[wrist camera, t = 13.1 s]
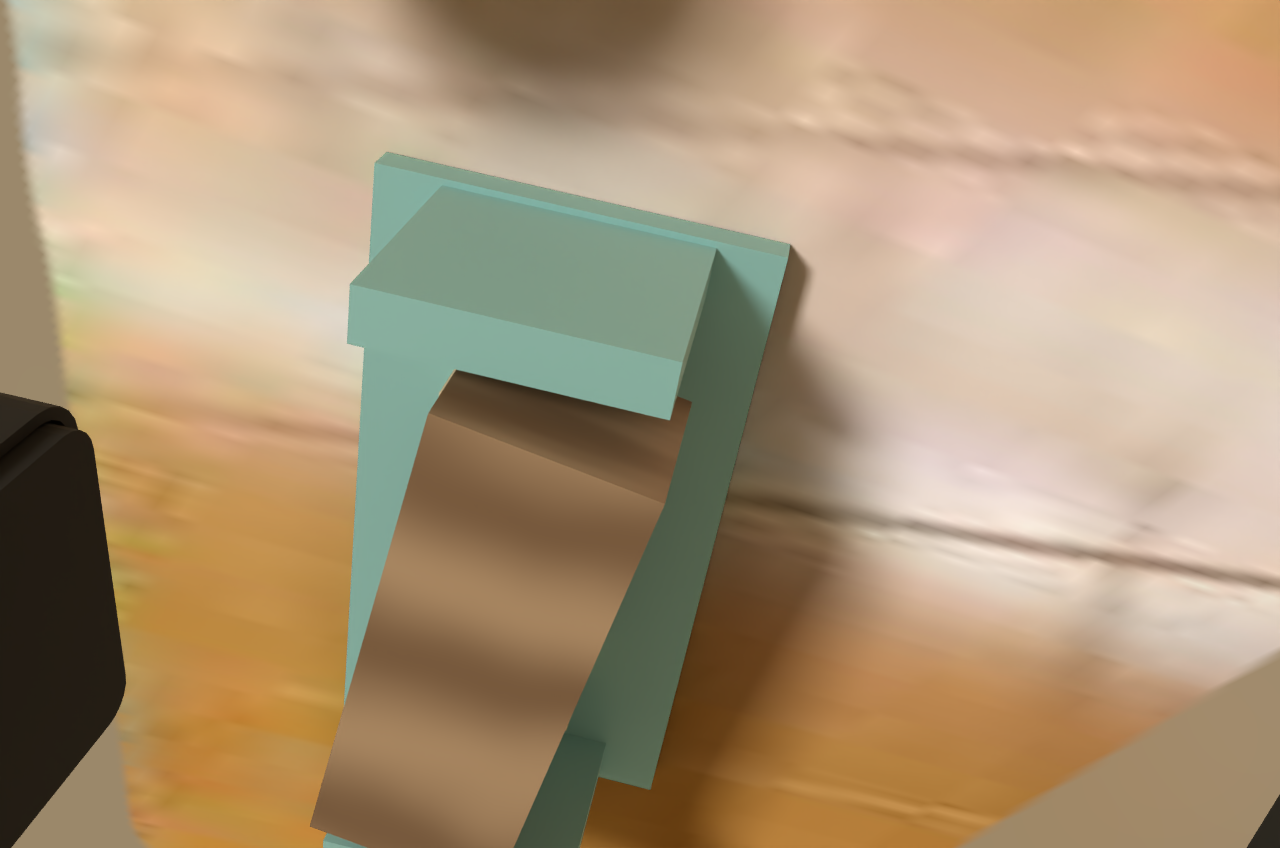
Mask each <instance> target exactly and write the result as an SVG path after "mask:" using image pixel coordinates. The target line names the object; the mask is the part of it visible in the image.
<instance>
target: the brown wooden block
mask: <svg viewBox="0 0 1280 848" xmlns="http://www.w3.org/2000/svg"><path fill="white" fill-rule="evenodd" d="M691 405H692V402H691V401H689V400H686V399H683V398H681V397H678V396H677V398H676V401H675V405H674V408H673V412H672V415H671V418H670V420H666V419H662V418H658V417H653V416H649V415H645V414H641V413H637V412H632V411H628V410H624V409H620V408H616V407H611V406H607V405H603V404H599V403H595V402H590V401H586V400H582V399H578V398H574V397H569V396H565V395H561V394H557V393H553V392H548V391H544V390H540V389H536V388H532V387H527V386H523V385H519V384H515V383H511V382H506V381H502V380H498V379H494V378H490V377H485V376H481V375H477V374H473V373H469V372H465V371H460V370H456V371H455V372H454V374H453V375H452V377H451V378H450V380H449V381H448V383H447V385H446V386H445V388H444V389H443V391H442V392H441V394H440V395H439V397H438V399H437V400H436V402H435V403H434V405H433V406H432V408H431V409H430V411H429V413H428V415H427V419H426V422H425V426H424V429H423V433H422V436H421V440H420V443H419V447H418V450H417V454H416V457H415V461H414V464H413V468H412V471H411V475H410V478H409V482H408V485H407V489H406V492H405V496H404V499H403V503H402V506H401V510H400V513H399V517H398V520H397V524H396V527H395V531H394V534H393V538H392V541H391V545H390V548H389V552H388V555H387V558H386V562H385V565H384V569H383V572H382V576H381V579H380V583H379V586H378V590H377V593H376V597H375V600H374V604H373V607H372V611H371V614H370V618H369V621H368V625H367V628H366V632H365V635H364V639H363V642H362V646H361V649H360V653H359V656H358V660H357V663H356V667H355V670H354V674H353V677H352V681H351V684H350V688H349V691H348V695H347V698H346V702H345V705H344V709H343V712H342V716H341V719H340V723H339V726H338V729H337V733H336V736H335V740H334V743H333V747H332V750H331V754H330V757H329V761H328V764H327V768H326V771H325V775H324V778H323V782H322V785H321V789H320V792H319V796H318V799H317V803H316V806H315V810H314V813H313V817H312V820H311V824H310V827H313V828H316V829H318V830H321V831H324V832H326V833H329V834H332V835H334V836H337V837H340V838H342V839H345V840H348V841H350V842H353V843H356V844H358V845H361V846H364V847H367V848H514V846H515V843H516V841H517V839H518V836H519V834H520V832H521V830H522V827H523V825H524V823H525V821H526V818H527V816H528V814H529V812H530V809H531V807H532V805H533V802H534V800H535V798H536V796H537V793H538V791H539V789H540V787H541V784H542V782H543V780H544V777H545V775H546V773H547V771H548V768H549V766H550V764H551V762H552V759H553V757H554V755H555V752H556V750H557V748H558V746H559V743H560V741H561V739H562V737H563V734H564V732H565V730H566V728H567V725H568V723H569V721H570V718H571V716H572V714H573V712H574V709H575V707H576V705H577V703H578V700H579V698H580V696H581V693H582V691H583V689H584V687H585V684H586V682H587V680H588V678H589V675H590V673H591V671H592V668H593V666H594V664H595V662H596V659H597V657H598V655H599V653H600V650H601V648H602V646H603V644H604V641H605V639H606V637H607V634H608V632H609V630H610V628H611V625H612V623H613V621H614V619H615V616H616V614H617V612H618V609H619V607H620V605H621V603H622V600H623V598H624V596H625V594H626V591H627V589H628V587H629V585H630V582H631V580H632V578H633V575H634V573H635V571H636V569H637V566H638V564H639V562H640V560H641V557H642V555H643V553H644V550H645V548H646V546H647V544H648V541H649V539H650V537H651V535H652V532H653V530H654V528H655V525H656V523H657V521H658V519H659V516H660V514H661V512H662V510H663V507H664V505H665V502H666V498H667V495H668V491H669V487H670V483H671V480H672V476H673V472H674V468H675V465H676V461H677V457H678V453H679V450H680V446H681V442H682V438H683V435H684V431H685V427H686V423H687V420H688V416H689V412H690V408H691Z"/></svg>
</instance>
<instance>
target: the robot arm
mask: <svg viewBox="0 0 1280 848" xmlns="http://www.w3.org/2000/svg"><path fill="white" fill-rule="evenodd" d="M125 685H126V674H125V667H124V660H123V653H122V646H121V639H120V632H119V625H118V617H117V610H116V603H115V596H114V589H113V582H112V575H111V568H110V561H109V554H108V546H107V539H106V532H105V525H104V518H103V511H102V504H101V497H100V490H99V483H98V475H97V468H96V461H95V454H94V448H93V444H92V441H91V439H90V437H89V436H88V435H87V433H85V432H83V431H81V430H78V428H77V424H76V421H75V418H74V417H73V416H72V414H71V413H70V412H69V410H66V409H64V408H62V407H60V406H56V405H52V404H47V403H43V402H39V401H34V400H30V399H26V398H22V397H17V396H13V395H9V394H4V393H0V848H11V847H12V846H13V845H14V844H15V842H16V841H17V840H18V838H19V837H20V836H21V835H22V833H23V832H24V831H25V830H26V829H27V827H28V826H29V825H30V823H31V822H32V821H33V820H34V818H35V817H36V816H37V815H38V813H39V812H40V811H41V809H42V808H43V807H44V806H45V805H46V803H47V802H48V801H49V800H50V798H51V797H52V796H53V795H54V793H55V792H56V791H57V790H58V788H59V787H60V786H61V785H62V783H63V782H64V781H65V780H66V778H67V777H68V776H69V775H70V773H71V772H72V771H73V770H74V768H75V767H76V766H77V765H78V763H79V762H80V761H81V759H82V758H83V757H84V756H85V755H86V753H87V752H88V751H89V750H90V748H91V747H92V746H93V745H94V743H95V742H96V741H97V740H98V738H99V737H100V736H101V735H102V733H103V732H104V731H105V730H106V728H107V727H108V726H109V725H110V723H111V722H112V720H113V719H114V717H115V716H116V713H117V711H118V709H119V707H120V705H121V702H122V699H123V696H124V691H125ZM1247 848H1280V795H1279V797H1278V798H1277V800H1276V801H1275V803H1274V805H1273V806H1272V808H1271V809H1270V811H1269V813H1268V814H1267V816H1266V817H1265V819H1264V821H1263V823H1262V824H1261V826H1260V827H1259V829H1258V831H1257V832H1256V834H1255V835H1254V837H1253V839H1252V840H1251V842H1250V843H1249V845H1248V847H1247Z"/></svg>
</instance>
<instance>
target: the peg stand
mask: <svg viewBox="0 0 1280 848" xmlns="http://www.w3.org/2000/svg"><path fill="white" fill-rule="evenodd" d="M789 250H790V244H787V243H782V242H778V241H773V240H769V239H765V238H760V237H756V236H752V235H747V234H743V233H738V232H734V231H730V230H725V229H721V228H717V227H712V226H708V225H704V224H699V223H695V222H690V221H686V220H682V219H677V218H673V217H669V216H664V215H660V214H655V213H651V212H647V211H642V210H638V209H634V208H629V207H625V206H621V205H616V204H612V203H607V202H603V201H599V200H594V199H590V198H586V197H581V196H577V195H572V194H568V193H564V192H559V191H555V190H551V189H546V188H542V187H537V186H533V185H529V184H524V183H520V182H516V181H511V180H507V179H503V178H498V177H494V176H489V175H485V174H481V173H476V172H472V171H468V170H463V169H459V168H454V167H450V166H446V165H441V164H437V163H433V162H428V161H424V160H420V159H415V158H411V157H406V156H402V155H398V154H393V153H389V152H386V153H385V154H384V155H383V156H382V157H381V158H380V159H378V160H377V161H376V162H375V166H374V184H373V202H372V219H371V237H370V255H369V264H368V265H367V266H366V267H365V268H364V270H363V271H362V272H361V273H360V274H359V275H358V276H357V277H356V278H355V279H354V280H353V281H352V282H351V284H350V294H349V315H348V336H347V344H351V345H355V346H360V347H364V361H363V379H362V397H361V414H360V432H359V450H358V467H357V485H356V503H355V521H354V538H353V556H352V574H351V591H350V609H349V627H348V645H347V662H346V680H345V698H344V705H345V702H346V698H347V695H348V691H349V688H350V684H351V681H352V677H353V674H354V670H355V667H356V663H357V660H358V656H359V653H360V649H361V646H362V642H363V639H364V635H365V632H366V628H367V625H368V621H369V618H370V614H371V611H372V607H373V604H374V600H375V597H376V593H377V590H378V586H379V583H380V579H381V576H382V572H383V569H384V565H385V562H386V558H387V555H388V552H389V548H390V545H391V541H392V538H393V534H394V531H395V527H396V524H397V520H398V517H399V513H400V510H401V506H402V503H403V499H404V496H405V492H406V489H407V485H408V482H409V478H410V475H411V471H412V468H413V464H414V461H415V457H416V454H417V450H418V447H419V443H420V440H421V436H422V433H423V429H424V426H425V422H426V419H427V415H428V413H429V411H430V409H431V408H432V406H433V405H434V403H435V402H436V400H437V399H438V397H439V395H440V394H441V392H442V391H443V389H444V388H445V386H446V385H447V383H448V381H449V380H450V378H451V377H452V375H453V374H454V372H455V371H456V370H460V371H465V372H469V373H473V374H477V375H481V376H485V377H490V378H494V379H498V380H502V381H506V382H511V383H515V384H519V385H523V386H527V387H532V388H536V389H540V390H544V391H548V392H553V393H557V394H561V395H565V396H569V397H574V398H578V399H582V400H586V401H590V402H595V403H599V404H603V405H607V406H611V407H616V408H620V409H624V410H628V411H632V412H637V413H641V414H645V415H649V416H653V417H658V418H662V419H666V420H670V418H671V415H672V412H673V408H674V405H675V401H676V398H677V396H678V397H681V398H683V399H686V400H689V401H691V402H692V405H691V408H690V412H689V416H688V420H687V423H686V427H685V431H684V435H683V438H682V442H681V446H680V450H679V453H678V457H677V461H676V465H675V468H674V472H673V476H672V480H671V483H670V487H669V491H668V495H667V498H666V502H665V505H664V507H663V510H662V512H661V514H660V516H659V519H658V521H657V523H656V525H655V528H654V530H653V532H652V535H651V537H650V539H649V541H648V544H647V546H646V548H645V550H644V553H643V555H642V557H641V560H640V562H639V564H638V566H637V569H636V571H635V573H634V575H633V578H632V580H631V582H630V585H629V587H628V589H627V591H626V594H625V596H624V598H623V600H622V603H621V605H620V607H619V609H618V612H617V614H616V616H615V619H614V621H613V623H612V625H611V628H610V630H609V632H608V634H607V637H606V639H605V641H604V644H603V646H602V648H601V650H600V653H599V655H598V657H597V659H596V662H595V664H594V666H593V668H592V671H591V673H590V675H589V678H588V680H587V682H586V684H585V687H584V689H583V691H582V693H581V696H580V698H579V700H578V703H577V705H576V707H575V709H574V712H573V714H572V716H571V718H570V721H569V723H568V725H567V728H566V730H565V732H564V734H563V737H562V739H561V741H560V743H559V746H558V748H557V750H556V752H555V755H554V757H553V759H552V762H551V764H550V766H549V768H548V771H547V773H546V775H545V777H544V780H543V782H542V784H541V787H540V789H539V791H538V793H537V796H536V798H535V800H534V802H533V805H532V807H531V809H530V812H529V814H528V816H527V818H526V821H525V823H524V825H523V827H522V830H521V832H520V834H519V836H518V839H517V841H516V843H515V846H514V848H580V845H581V842H582V838H583V834H584V830H585V826H586V823H587V819H588V815H589V811H590V807H591V803H592V800H593V796H594V792H595V788H596V784H597V780H598V777H602V778H606V779H609V780H613V781H617V782H621V783H625V784H629V785H633V786H637V787H641V788H645V789H649V790H650V789H651V785H652V782H653V778H654V774H655V770H656V766H657V762H658V758H659V754H660V751H661V747H662V743H663V739H664V735H665V731H666V727H667V724H668V720H669V716H670V712H671V708H672V704H673V700H674V697H675V693H676V689H677V685H678V681H679V677H680V673H681V670H682V666H683V662H684V658H685V654H686V650H687V646H688V643H689V639H690V635H691V631H692V627H693V623H694V619H695V616H696V612H697V608H698V604H699V600H700V596H701V592H702V589H703V585H704V581H705V577H706V573H707V569H708V565H709V562H710V558H711V554H712V550H713V546H714V542H715V538H716V535H717V531H718V527H719V523H720V519H721V515H722V511H723V508H724V504H725V500H726V496H727V492H728V488H729V484H730V481H731V477H732V473H733V469H734V465H735V461H736V457H737V454H738V450H739V446H740V442H741V438H742V434H743V430H744V426H745V423H746V419H747V415H748V411H749V407H750V403H751V399H752V396H753V392H754V388H755V384H756V380H757V376H758V372H759V369H760V365H761V361H762V357H763V353H764V349H765V345H766V342H767V338H768V334H769V330H770V326H771V322H772V318H773V315H774V311H775V307H776V303H777V299H778V295H779V291H780V288H781V284H782V280H783V276H784V272H785V268H786V264H787V261H788V256H789ZM323 848H367V847H364V846H361V845H358V844H356V843H353V842H350V841H348V840H345V839H342V838H340V837H337V836H334V835H332V834H329V833H327V834H326V836H325V838H324V840H323Z"/></svg>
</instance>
